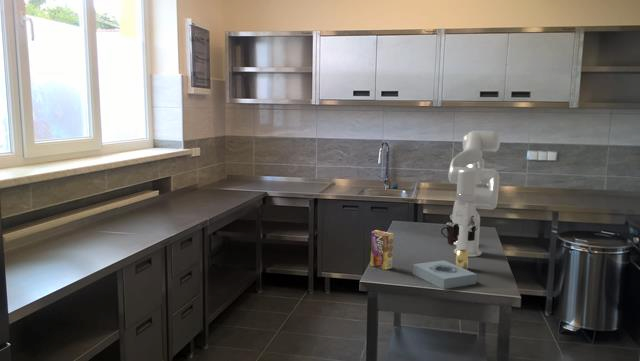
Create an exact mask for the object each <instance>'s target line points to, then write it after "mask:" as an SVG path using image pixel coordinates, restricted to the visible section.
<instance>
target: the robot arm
mask: <svg viewBox="0 0 640 361" xmlns="http://www.w3.org/2000/svg"><path fill="white" fill-rule="evenodd" d="M500 146H501V139H500V135H499V134H498V132H497V131H493V130H471V131H470V132H468V133H466V134H465V135H463V137H462V150H463V151H461V152H459V153H457V155H455V156H454V157H453V158H452V160H451V161H450V163H449V164H450V165H449V169H448V176H447V177H448V181H449V182H450V183H451V184H455V185H456V195H455V197H456V199H455V201H454V203H453V208H452V214H450V215H449V218H450V222H451V223H452V226H453V231H452V236H458V241H456V242H454V245H453V246H456V248H454V249H453V253H454V254H456V250H457V249H465V250H468V251H469V252H468V258H469V257H470V258H471V257H472V258H473V257H479V256H482V251H481V250H479V243H480V227H481V226H480V225H481V216H480V214H479V213H478V211H477V209H482V210H494V209H496V207H497V206H498V201H499V188H500V174H499V172H498V170H495V169H491V168H489V169H488V168H485V160H484V159H483V153H484V152H497V151H498V150H499V149H500Z"/></svg>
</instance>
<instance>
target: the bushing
mask: <svg viewBox="0 0 640 361" xmlns="http://www.w3.org/2000/svg"><path fill="white" fill-rule="evenodd" d="M468 252H469V251H468V250H465V249H457V250H456V253H455V254H456V255H455V265H456V266H459V267H461V268H464V269H466V270H468V267H469V266H468V265H469V256H468Z"/></svg>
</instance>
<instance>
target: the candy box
mask: <svg viewBox="0 0 640 361" xmlns="http://www.w3.org/2000/svg"><path fill="white" fill-rule="evenodd" d="M394 236H395V235H394V233H393V232H387V231H382V230H380V229H379V230H378V229H375V230H372V231H371V247H370V248H371V249H370V266H371V267H375V268H379V269H383V270H391V269H393V253H394Z"/></svg>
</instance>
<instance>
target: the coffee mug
mask: <svg viewBox="0 0 640 361" xmlns="http://www.w3.org/2000/svg"><path fill="white" fill-rule="evenodd" d="M444 229H446V233H447V234H446V235H445V234H444V233H443V231H444ZM452 231H453V226H452V223H451V221H450V222H446V226H445V227H444V226H443V227H442V228H441V230H440V232H441V234H442V236H443V237H444V238H447V244H448V245H451V246H455V245H454V242H456V241H458V236H452Z"/></svg>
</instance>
